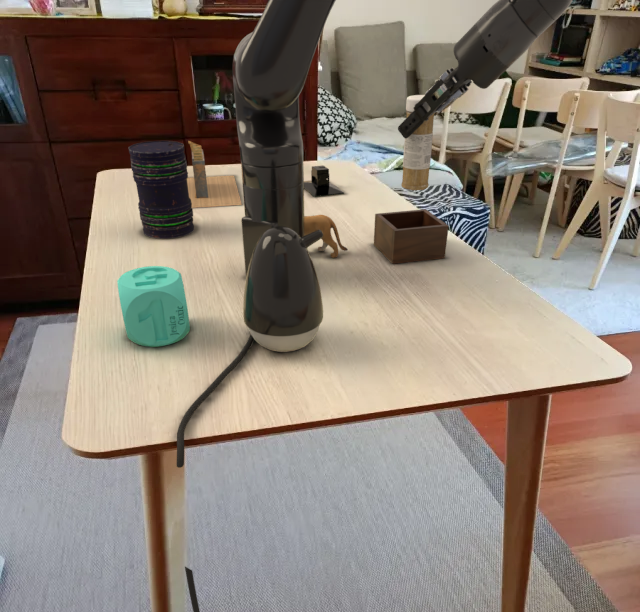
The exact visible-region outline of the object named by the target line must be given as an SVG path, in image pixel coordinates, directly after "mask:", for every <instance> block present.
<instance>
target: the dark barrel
mask: <svg viewBox="0 0 640 612" xmlns="http://www.w3.org/2000/svg"><path fill="white" fill-rule="evenodd" d="M128 153H129V155H130V156H129V159H130V166H131V167H130V168H131V172H132V178H133V181H134V183H135V185H136V191H137V198H138V203H137V205H138V211H139V213H138V214H139V219H140V221H141V225H142V232H143V235H144V236H145V237H148V238H150V239H157V240H171V239H177V238H182V237H185V236H188V235H191V234H192V233H193V232H194V231H195V225H194V210H193V209H194V208H192V203H191V199H190V198H189V192H188V184H187V178H189V175H188V174H189V172H188V163H187V159H186V153H185V145H184V143H182V142H179V141H175V140H174V141H173V140H150V141H142V142H138V143H134V144H131V145H130V146H128Z"/></svg>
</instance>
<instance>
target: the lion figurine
mask: <svg viewBox="0 0 640 612" xmlns="http://www.w3.org/2000/svg"><path fill="white" fill-rule="evenodd" d="M304 223H305V235H308V234H310V233H312V232H314V231H317V230H321V231H322V233H323V238H321V239H320V240H321V241H322V245H321V246H318V247H317V251H318V252H324V251H326V249H327V247H330V248H331V249H332V250H333V252H330V253H329V256H330V257H331V258H334V259H335V258H337V257H338V256H339V248H340V250H341V251H344V252H347V251H349V249H348V247H346V246H344V245H343V244H342V242H341V237H340V234H339V231H338V227H337V225H336V223H335V222H334V220H333V219H332V218H330V217H329V216H327V215H325V214H317V215H316V214H315V215H304ZM332 230H333V233H334V236H335V239H336V241H335V240H334V238H333V236H332Z"/></svg>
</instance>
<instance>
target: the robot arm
mask: <svg viewBox="0 0 640 612" xmlns="http://www.w3.org/2000/svg"><path fill="white" fill-rule="evenodd" d="M336 1H337V0H268V1H267V3H266V6H265V8H264V11H262V13H261V16H260V18H259V20H258V22H257V23H256V26H255V27H254V30H253V31H252V32H250V33H248V34H246V36H244V37H243V38H242V39H241V41H240V42H239V43H238V45H237V47H236V49H235V51H234V54H233V57H232V82H233V94H234V96H233V97H234V106H235V116H236V117H235V118H236V131H237V139H238V146H239V147H238V148H239V156H240V168H241V180H242V195H243V197H242V198H243V208H244V216H242V217H241V219H240V221H241V232H242V244H243V245H242V246H243V258H244V270H245V277H246V276H247V272H248V267H249V264H250V260H251V257H252V254H253V252H254V249H255V247H256V244H257V242H258V240H259V239H260V237H261V236H262V234H263V233H264V232H265V231H267V230H268V229H270V228H273V227H277V226H284V227H288V228H290V229H292V230H293V231H295V232H296V233H297V234H298V235H299V236H300V237H303V236H305V223H304V216H305V189H304V181H305V176H304V174H305V173H304V171H305V170H304V168H305V167H304V140H303V136H302V135H303V134H302V129H301V120H300V119H301V118H300V94H301V93H302V91H303V89H304V86H305V83H306V80H307V77H308V74H309V71H310V68H311V65H312V62H313V59H314V56H315V53H316V50H317V47H318V45H319V41H320V40H321V36H322V33H323V31H324V27H325V25H326V22H327V20H328V18H329V16H330V14H331V11H332V9H333V7H334V5H335V2H336ZM572 2H573V0H497V1H496V2H495V3H494V4H493V5H491V6H490V7H489V8H488V9H487V11H486V12H485V13H484V14H483V15H482V16H481V17H480V18H478V20H477V21H476V22H475V23H474V25H472V26H471V27H470V29H468V30H467V32H465V34H464V35H463V36H461V38H460V39H459V40H458V41H457V42H456V43H455V44H454V46H453V55H454V57H455V60H457V66H456V67H455V68H454V67H453V66H452V67H451V68H450V69H449V68H448V69H446V70H445V71H444V72H443V73H441V75H440V76H439V79H437V80H436V82H435V83H434V84H433V85H432V86H431V87H430V88H429V89H428V90H426V92H425V94H424V95H425V96H424V97H423V98H422V99H421V100H420V101H419V102H418V103H416V104H415V107H414V111H413V112H412V113H411V114H410V115H409V116H408V117H407V116H406V118H405V119H404V120H403V121H402V122H401V123H400V124H399V125H398V126H397V130H398V132H399V134H400V135H401V136H402V137H403V138H404V139H405V138H408V137H409V136H410V135H411V134H413V133H414V132H415V131H416V130H417V129H418V128H419V127H420V126H421V125H422V124H423V123H424V122H425V121H426V122H427V121H428V120H429V118H430V117H431V116H432V115H433V114H434V113H435V114H434V117H436V116H439V114H440V113H441V112H442V111H445V110H446V109H448V108H449V107H450V106H452V105H453V104H454V103H455V101H456V100H458V99H459V98H461V97H462V96H464V95H465V94H466V93H467V92H468V91H469V87H470V86H471V84H472V83H473V85H475V86H477V87H478V89H479V88H480V89H481V90H486V89H488V88H489V87H490V86H491V85H492V84H493V83H494V82H495V81H496V80H497V79H498V78H500V76H502V75H503V74H504V73H505V72H506V71H507V70H508V69H509V68H511V66H512V65H513V64H515V62H516V61H518V60H519V59H520V58H521V56H523V55H524V54H525V53H526V52H527V51H528V49H530V47H531V46H532V45H533V44H534V42H536V40H537V39H538V38H539V37H540V36H541V35H543V33H545V31H546V30H548V29H549V28H550V26H551V25H553V24H554V23H555V22H556V21H557V20H558V19H559V18H560V17H561V16H562V15H563V14H564V12H566V10H568V8H569V7H570V6H571V4H572ZM426 102H427V104H428V105H429V106H430V111H429V112H427V111H426V109H425V108H424V107H423V105H424V104H425V103H426ZM254 341H255V339H254V338H253V337H252V335H251V333H250V334H249V337H248V339H247V341H246V343H245V344H244V346H243V348H242V349H241V350H240V352H239V353H238V355H237V356H236V357H235V358H234V359H233V360H232V362H231V363H230V364H229V365H228V366H227V367H226V368H225V369H224V370H223V371H222V372H221V373H220V374H219V375H218V376H217V377H216V378H215V379H214V381H212V383H211V384H209V386H208V387H207V388H206V389H205V390H204V392H202V393H201V394H200V395H199V396H198V397H197V398H196V400H194V401H193V403H192V404H190V406H189V407H188V409H187V410H186V411H185V413H184V415H183V417H182V418H181V421H180V423H179V425H178V427H177V433H176V467H177V468H179V469H180V468H183V467H184V465H185V431H186V428H187V426H188V424H189V422H190V420H191V418H192V417H193V415H194V414H195V412H196V411H197V410H198V408H199V407H200V406H201V405H202V404H203V403H204V402H205V401H206V400H207V399H208V398H209V396H211V395H212V394H213V393H214V391H215V390H216V389H217V388H218V387H219V386H220V384H221V383H222V382H223V381H224V380H225V379H226V378H227V377H228V376H229V375H230V374H231V373H232V372H233V370H234V369H236V368H237V367H238V365H239V364H240V363H241V362H242V361H243V359H244V358H245V357H246V355H247V354H248V352H249V351H250V349H251V346H252V345H253V343H254ZM184 570H185V577H186V582H187V587H188V588H187V589H188V592H189V598H190V603H191V608H192V612H201V610H200V606H199V601H198V596H197V591H196V584H195V579H194V573H193V569H191V568H189V567H187V566H184Z"/></svg>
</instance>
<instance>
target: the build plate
mask: <svg viewBox="0 0 640 612" xmlns="http://www.w3.org/2000/svg"><path fill="white" fill-rule="evenodd" d="M310 178H311V179H310V180H304V191H306V192H307V193H309V195H310V196H312V197H313V198H321V197H322V198H323V197H332V196H339V195H345V192H344V191H343V190H342V189H340V188H339V187H337V186H335V184H333V183H332V182H331V181H330V169H329V168H328V167H326V166H325V165H313V166H311V170H310Z"/></svg>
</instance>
